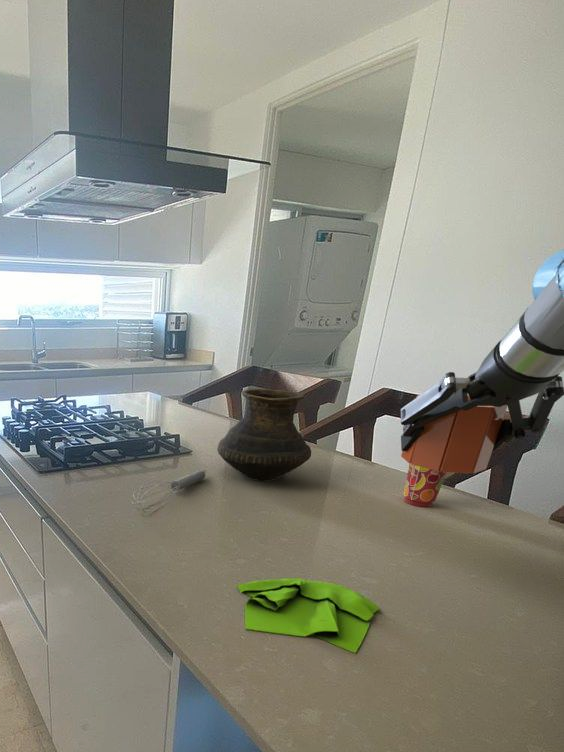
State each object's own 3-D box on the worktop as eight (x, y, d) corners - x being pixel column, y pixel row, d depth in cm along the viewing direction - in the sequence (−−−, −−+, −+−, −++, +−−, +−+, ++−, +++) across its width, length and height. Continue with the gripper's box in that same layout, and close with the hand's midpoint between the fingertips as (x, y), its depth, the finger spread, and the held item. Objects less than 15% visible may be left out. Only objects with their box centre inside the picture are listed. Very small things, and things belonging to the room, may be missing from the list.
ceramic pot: (315, 472, 138) (331, 391, 128) (291, 498, 119) (308, 406, 110) (233, 457, 150) (242, 382, 141) (200, 478, 131) (208, 394, 122)
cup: (409, 392, 80) (434, 404, 71) (484, 395, 78) (520, 408, 68) (394, 450, 84) (416, 469, 75) (465, 455, 82) (496, 475, 73)
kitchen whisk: (214, 479, 131) (217, 456, 128) (149, 521, 106) (150, 494, 103) (194, 474, 134) (196, 452, 132) (126, 514, 109) (126, 488, 106)
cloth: (394, 608, 76) (398, 595, 75) (335, 675, 62) (339, 661, 61) (275, 562, 89) (277, 550, 88) (205, 608, 75) (206, 595, 74)
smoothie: (406, 493, 123) (428, 415, 115) (442, 503, 117) (469, 421, 109) (392, 501, 118) (414, 419, 110) (429, 512, 112) (456, 426, 104)
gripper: (639, 332, 58) (522, 431, 78) (422, 327, 62) (365, 422, 82) (653, 385, 55) (528, 473, 75) (426, 375, 59) (365, 461, 80)
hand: (442, 446), depth 79 cm, fingers closed on cup, 11 cm apart
